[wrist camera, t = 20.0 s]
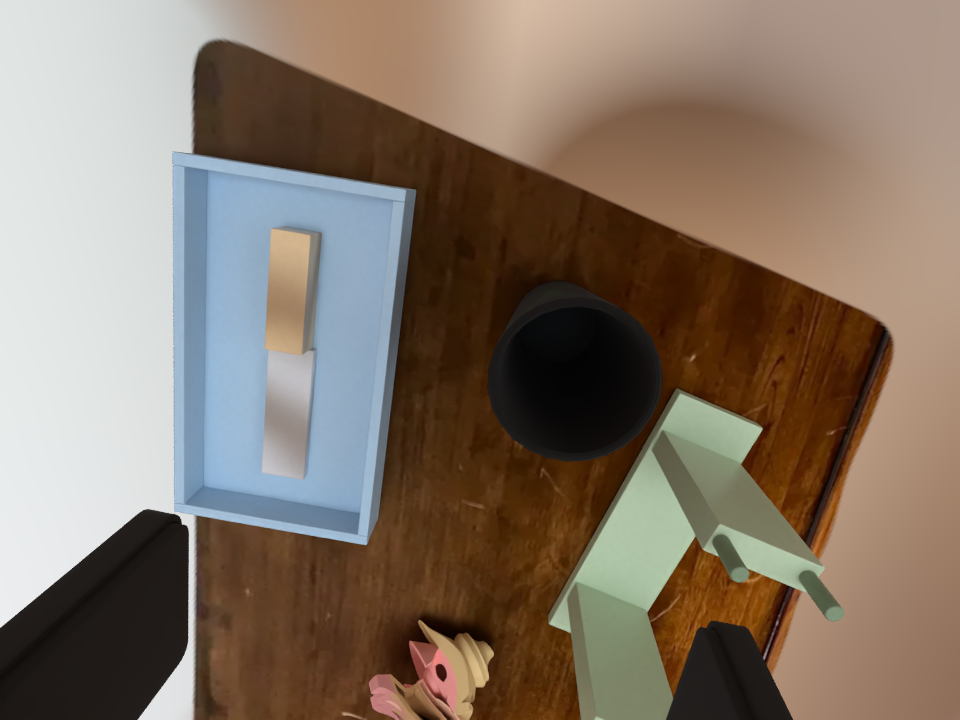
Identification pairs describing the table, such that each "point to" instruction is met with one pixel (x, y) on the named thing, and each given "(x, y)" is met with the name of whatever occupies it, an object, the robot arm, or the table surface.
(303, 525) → the tray
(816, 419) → the table surface
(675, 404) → the rack
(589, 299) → the cup
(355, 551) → the table surface
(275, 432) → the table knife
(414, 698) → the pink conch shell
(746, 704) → the robot arm
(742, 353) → the table surface
